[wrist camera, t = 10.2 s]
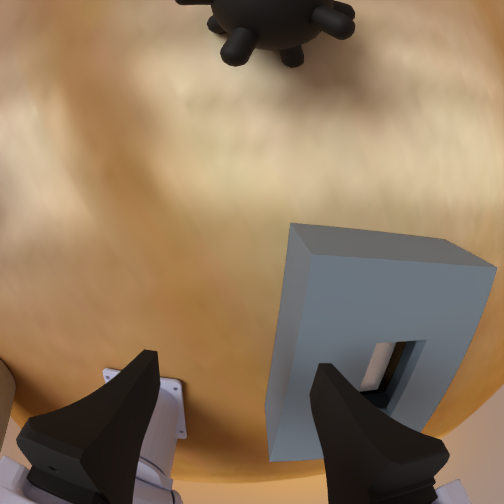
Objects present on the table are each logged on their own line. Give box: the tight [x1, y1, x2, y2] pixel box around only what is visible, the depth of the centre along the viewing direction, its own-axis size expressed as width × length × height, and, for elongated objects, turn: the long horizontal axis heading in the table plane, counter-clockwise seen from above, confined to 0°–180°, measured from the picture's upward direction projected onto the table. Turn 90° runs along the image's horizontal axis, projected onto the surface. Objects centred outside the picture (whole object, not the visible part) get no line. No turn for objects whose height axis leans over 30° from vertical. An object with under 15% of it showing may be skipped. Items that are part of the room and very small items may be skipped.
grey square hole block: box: [265, 223, 497, 462], centre depth 21 cm, size 18×14×7 cm
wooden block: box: [359, 342, 396, 391], centre depth 22 cm, size 5×2×5 cm, turn 175°
